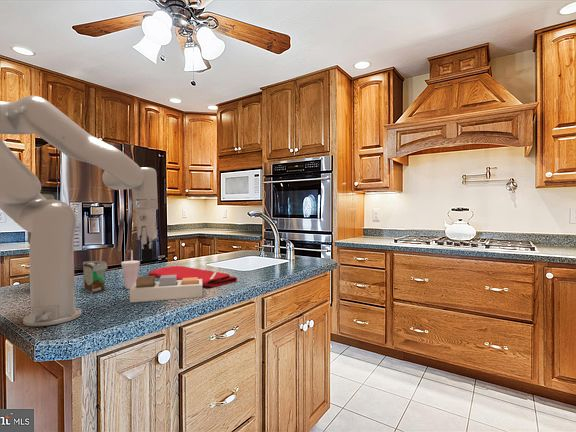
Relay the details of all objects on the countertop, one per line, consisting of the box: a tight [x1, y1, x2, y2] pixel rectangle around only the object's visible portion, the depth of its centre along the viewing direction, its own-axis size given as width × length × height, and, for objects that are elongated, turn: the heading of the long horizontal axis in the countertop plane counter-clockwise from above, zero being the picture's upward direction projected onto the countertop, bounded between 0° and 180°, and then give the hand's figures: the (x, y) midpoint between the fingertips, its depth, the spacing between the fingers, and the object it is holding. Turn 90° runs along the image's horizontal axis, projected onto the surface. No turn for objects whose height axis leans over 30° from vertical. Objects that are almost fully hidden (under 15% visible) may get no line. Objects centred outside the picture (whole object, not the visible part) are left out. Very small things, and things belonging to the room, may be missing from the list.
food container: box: [82, 260, 108, 295], centre depth 117 cm, size 12×6×10 cm, turn 47°
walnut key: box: [136, 275, 156, 288], centre depth 107 cm, size 5×5×3 cm
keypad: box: [129, 279, 203, 303], centre depth 109 cm, size 10×22×4 cm, turn 105°
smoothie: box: [120, 249, 141, 290], centre depth 120 cm, size 6×6×14 cm
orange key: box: [182, 277, 198, 285], centre depth 111 cm, size 5×5×3 cm
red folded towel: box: [147, 265, 238, 288], centre depth 136 cm, size 16×41×4 cm, turn 52°
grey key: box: [159, 275, 177, 286], centre depth 109 cm, size 5×5×3 cm
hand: (147, 260), depth 107 cm, fingers closed
